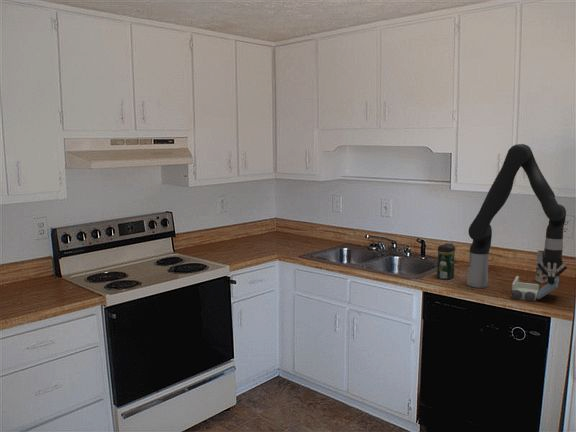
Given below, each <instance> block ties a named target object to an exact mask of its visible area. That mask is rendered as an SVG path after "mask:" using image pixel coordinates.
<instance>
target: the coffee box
mask: <svg viewBox="0 0 576 432" xmlns="http://www.w3.org/2000/svg"><path fill="white" fill-rule="evenodd" d="M543 258H544V250H537V257H536V265H535V266H536V267H535V268H536V269H535V279H534V280H535V281H536V282H539V283H540V284H548V282H547V281H548V276H547V275H545V274H544V273H543V272H542V271H541V269H540V268H539V267H538V265H537V264H538V263H540V262H542V260H543ZM543 267H544V269H545V270H546V271H547V272H548V268H546V266H545V265H544V263H543ZM558 271H560V267H559V268H558V269H556V273H557V272H558ZM552 272H553V269H551V276H552ZM559 276H560V275H559ZM559 276H555V279H556V278H559Z"/></svg>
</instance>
